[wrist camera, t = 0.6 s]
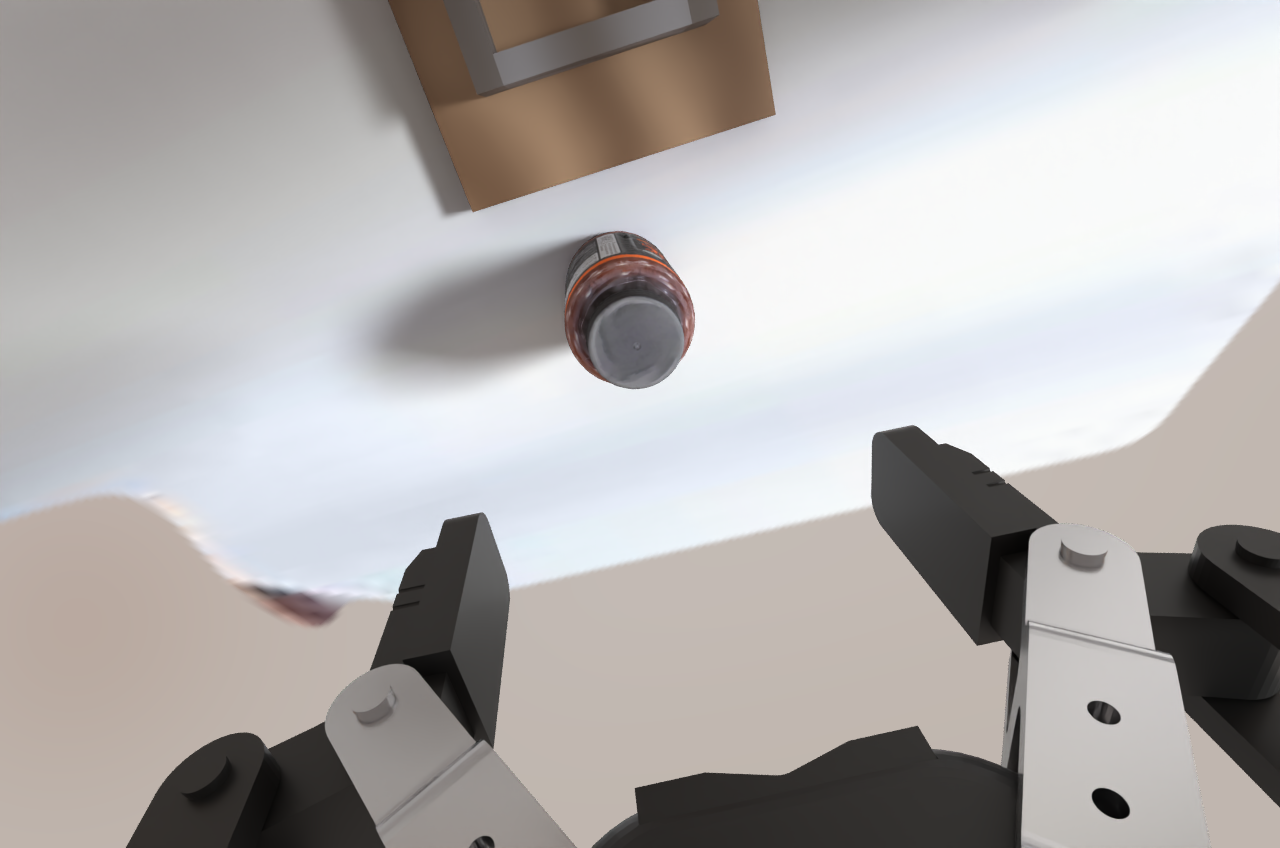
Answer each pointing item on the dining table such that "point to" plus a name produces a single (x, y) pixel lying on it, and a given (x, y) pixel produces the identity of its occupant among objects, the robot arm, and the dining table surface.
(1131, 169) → the dining table surface
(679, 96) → the socket plate
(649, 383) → the supplement bottle
